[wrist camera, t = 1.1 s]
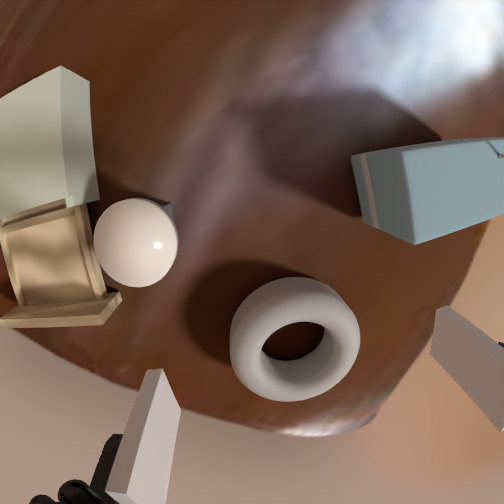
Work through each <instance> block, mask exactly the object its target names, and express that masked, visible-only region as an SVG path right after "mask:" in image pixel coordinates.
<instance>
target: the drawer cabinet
mask: <svg viewBox="0 0 504 504" xmlns="http://www.w3.org/2000/svg"><path fill="white" fill-rule="evenodd" d="M64 198H65V201H66V206H67V208H69V207H73V206H77V205H80V204H84V203H88V202H92V201H96V200H100V195H99V189H98V183H97V175H96V168H95V160H94V151H93V141H92V129H91V115H90V92H89V81H87V80H86V79H84V78H82V77H80V76H79V75H77V74H75V73H73V72H71V71H70V70H68V69H66V68H64V67H62V66H59V67H57V68H55V69H53V70H51V71H49V72H47V73H45V74H43V75H41V76H39V77H37V78H35V79H33V80H31V81H29V82H28V83H26V84H24V85H22V86H20V87H19V88H17V89H15V90H14V91H12V92H10V93H9V94H7V95H5V96H4V97H2V98H1V99H0V219H2V218H4V217H7V216H10V215H13V214H16V213H19V212H22V211H25V210H28V209H31V208H34V207H37V206H41V205H44V204H47V203H50V202H54V201H57V200H61V199H64Z"/></svg>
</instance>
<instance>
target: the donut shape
mask: <svg viewBox="0 0 504 504" xmlns="http://www.w3.org/2000/svg"><path fill="white" fill-rule="evenodd" d="M304 321H305V322H314V323H317V324H320V325H322V326H323V327H324V335H323V338H322V340H321V342H320V344H319V345H318V346H317V347H316V348H315V349H314V350H313V351H312V352H311V353H309V354H308V355H306V356H304V357H302V358H299V359H296V360H291V361H281V360H276V359H273V358H271V357H269V356H267V355H266V354H265V353H264V352H263V351H262V350H261V349H262V346H263V344H264V342H265V341H266V339H267V338H268V337H269V336H270V335H271V334H272V333H273V332H275V331H276V330H278V329H279V328H281V327H283V326H285V325H288V324H291V323H295V322H304ZM359 345H360V331H359V326H358V323H357V320H356V318H355V316H354V314H353V312H352V311H351V309H350V308H349V307H348V306H347V304H346V303H345V302H344V301H343V300H342V298H341V297H340V296H339V295H338V294H337V293H336V292H335V291H334V290H333V289H332V288H331V287H329V286H328V285H326V284H324V283H322V282H320V281H317V280H314V279H310V278H305V277H287V278H282V279H278V280H274V281H271V282H269V283H267V284H265V285H263V286H261V287H259V288H258V289H256V290H255V291H253V292H252V293H251V294H250V295H249V296H248V297H247V298H246V299H245V300H244V301H243V302H242V303H241V305H240V306H239V308H238V309H237V311H236V313H235V315H234V317H233V320H232V324H231V329H230V359H231V364H232V367H233V369H234V372H235V374H236V375H237V377H238V378H239V380H240V381H241V382H242V383H243V384H244V385H245V386H246V387H247V388H248V389H249V390H251V391H252V392H254V393H256V394H257V395H260V396H262V397H264V398H267V399H271V400H276V401H299V400H304V399H308V398H311V397H314V396H317V395H319V394H321V393H323V392H325V391H327V390H329V389H330V388H332V387H333V386H334V385H336V384H337V383H338V382H339V381H340V380H341V379H342V378H343V377H344V376H345V375H346V374H347V373H348V371H349V370H350V368H351V367H352V365H353V363H354V361H355V359H356V357H357V354H358V350H359Z"/></svg>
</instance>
